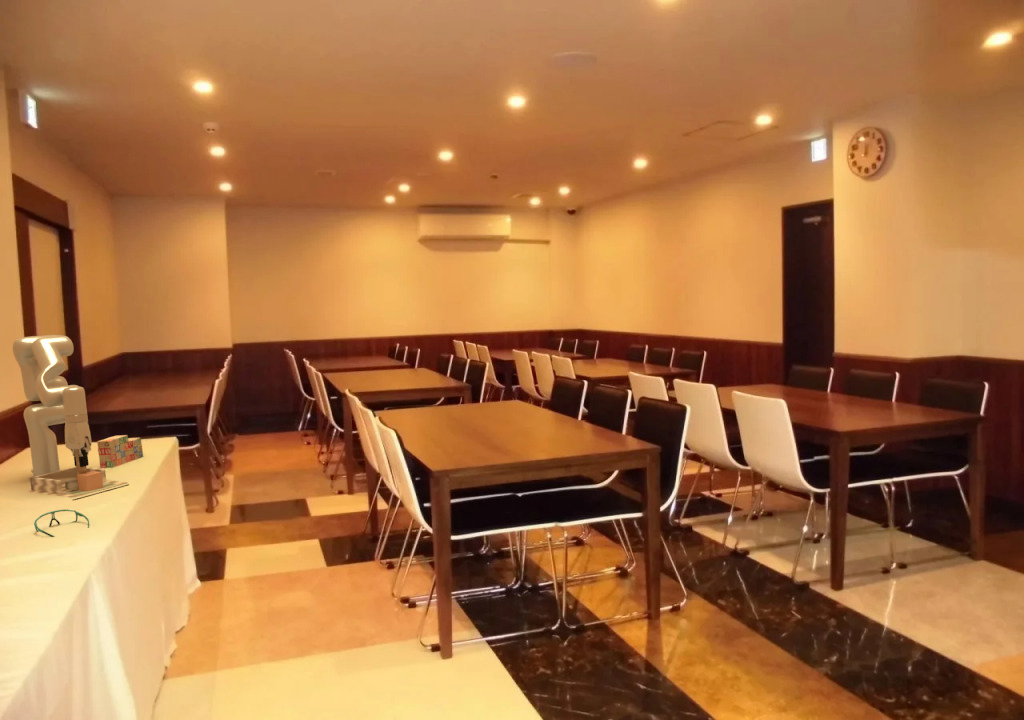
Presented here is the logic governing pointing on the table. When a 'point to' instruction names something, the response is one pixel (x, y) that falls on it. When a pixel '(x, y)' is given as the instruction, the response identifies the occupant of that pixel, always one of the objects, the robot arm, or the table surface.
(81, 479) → the block
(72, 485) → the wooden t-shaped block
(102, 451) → the stack of blocks
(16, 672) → the table surface
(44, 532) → the sunglasses
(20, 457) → the table surface
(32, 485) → the cubby
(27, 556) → the table surface
